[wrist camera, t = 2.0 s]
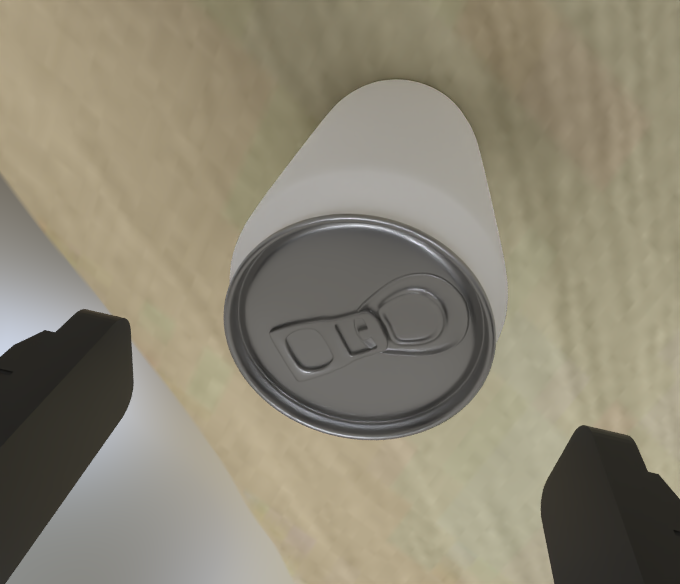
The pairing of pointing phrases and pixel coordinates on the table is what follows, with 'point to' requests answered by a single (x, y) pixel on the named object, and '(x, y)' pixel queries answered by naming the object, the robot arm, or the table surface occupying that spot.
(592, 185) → the table surface
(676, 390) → the table surface
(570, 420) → the table surface
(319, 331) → the can
